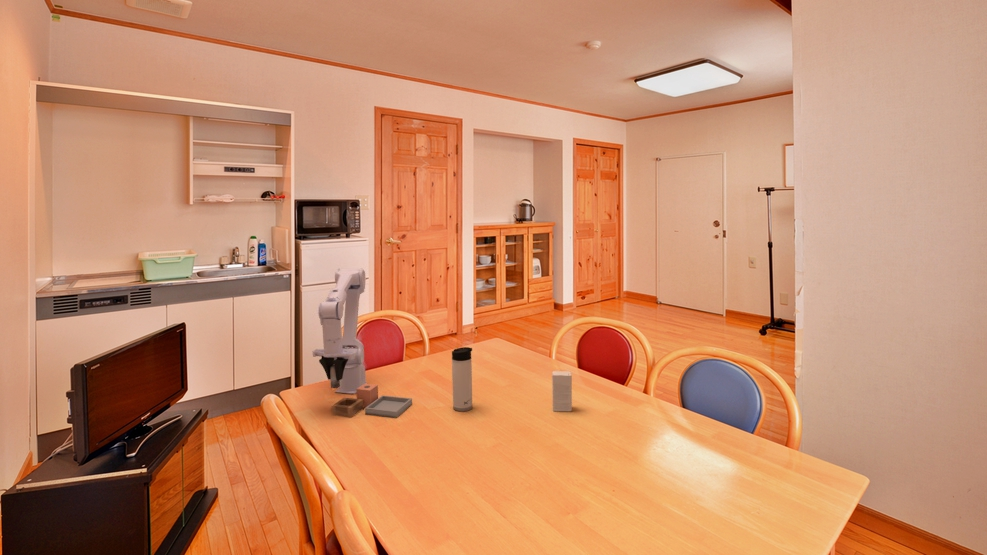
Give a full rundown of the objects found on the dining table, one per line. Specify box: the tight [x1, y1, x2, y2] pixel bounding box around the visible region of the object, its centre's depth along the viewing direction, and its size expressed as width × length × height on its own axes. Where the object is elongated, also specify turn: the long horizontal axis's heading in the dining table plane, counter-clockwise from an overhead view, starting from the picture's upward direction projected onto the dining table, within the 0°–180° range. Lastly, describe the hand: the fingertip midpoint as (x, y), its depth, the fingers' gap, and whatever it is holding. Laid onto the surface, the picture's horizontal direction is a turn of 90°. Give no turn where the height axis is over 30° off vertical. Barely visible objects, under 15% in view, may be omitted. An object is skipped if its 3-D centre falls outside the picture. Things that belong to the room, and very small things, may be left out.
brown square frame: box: [331, 397, 365, 418], centre depth 153 cm, size 7×7×3 cm
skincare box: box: [551, 370, 573, 412], centre depth 152 cm, size 6×4×12 cm
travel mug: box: [451, 346, 473, 412], centre depth 154 cm, size 6×7×20 cm
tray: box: [364, 394, 413, 419], centre depth 155 cm, size 11×11×2 cm
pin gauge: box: [329, 365, 340, 389], centre depth 154 cm, size 3×3×7 cm
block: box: [356, 383, 379, 408], centre depth 159 cm, size 5×5×6 cm
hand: (335, 379), depth 155 cm, fingers closed on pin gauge, 3 cm apart
